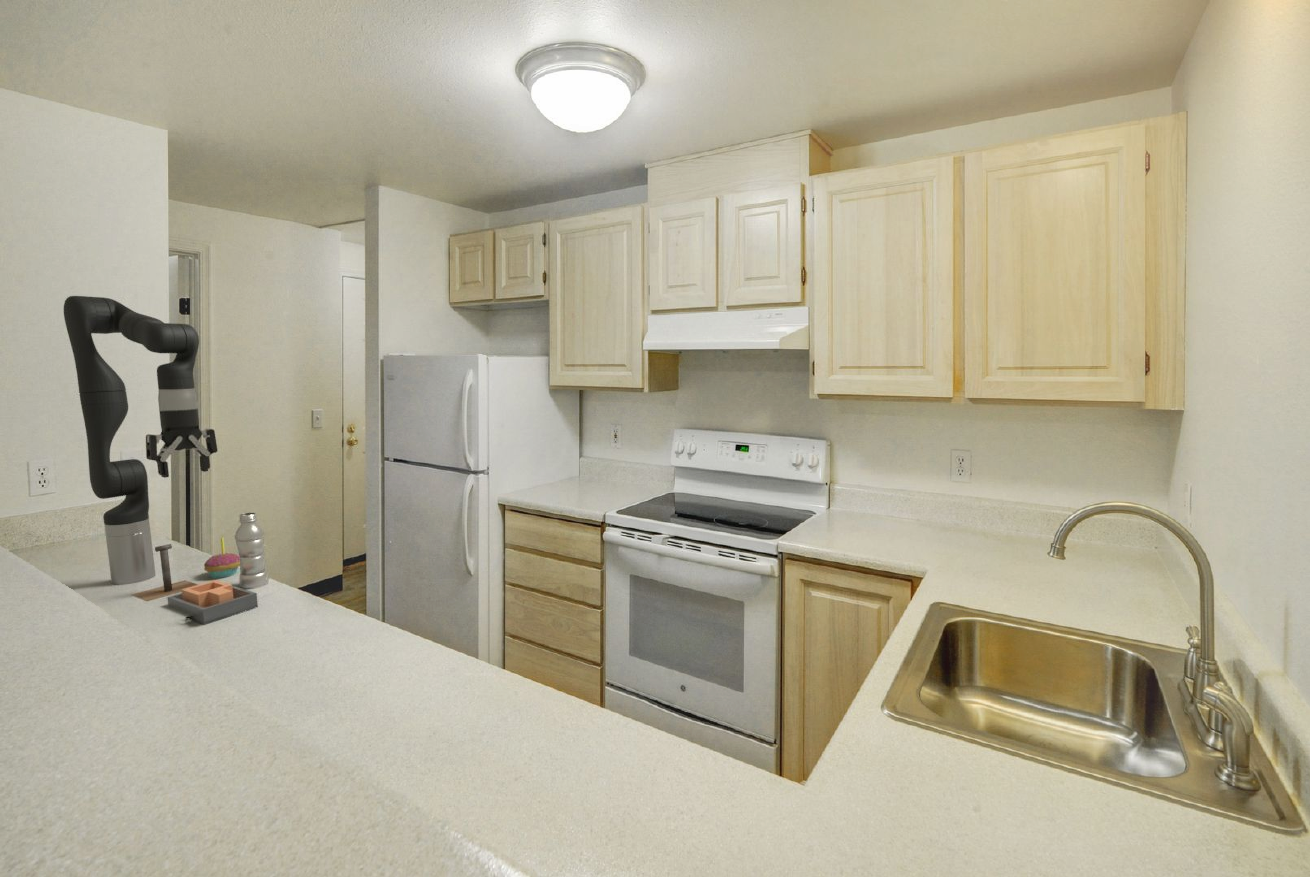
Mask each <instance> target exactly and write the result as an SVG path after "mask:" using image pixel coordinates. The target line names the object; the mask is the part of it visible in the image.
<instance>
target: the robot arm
mask: <svg viewBox="0 0 1310 877" xmlns="http://www.w3.org/2000/svg"><path fill="white" fill-rule="evenodd" d="M63 318H64V322H65V327H66V330H67V334H68V338H69V343H70V345H71V349H72V354H73V359H74V365H75V370H76V377H77V385H78V386H77V387H78V393H79V398H80V399H79V400H80V406H81V411H82V417H83V423H84V427H85V434H86V439H87V440H86V443H87V453H88V454H87V456H88V472H89V482H90V486H91V489H92V491H93V493H94V495H95V496H96V497H97V498H98V499H101V500H102V499H111V498H118V497H124V500H122V501H121V502H120V503H119V504H117V505H116V506H115V507H112V508H111V509H109V510H107V511H106V512H104V513H103V517H102V518H103V525H104V526H103V527H104V533H105V539H106V549H107V556H108V562H109V563H108V564H109V565H108V566H109V572H110V574H109V575H110V581H111V584H112V585H115V586H116V585H118V586H123V585H133V584H137V583H143V582H145V581H148V580H151V579H153V578H155V577H156V569H155V568H156V567H155V559H154V558H155V557H154V551H153V542H152V534H151V524H150V515H149V511H150V499H149V480H148V474H147V473H148V472H147V469H146V466H145V465H144V463H143V462H142V461H141V460H139V459H136V458H135V459H134V458H132V459H131V458H130V459H122V460H121V459H120V460H113V461H111V446H112V443H113V440H114V438H115V435H116V434H117V432H118V431H119V429H120V427H121V426H122V424H123V422H124V421H125V419H126V417H127V415H128V411H129V402H128V396H127V389H126V385H125V382H124V381H123V380H122V378H121V376H120V375H118V373H117V372H116V371H115V369H113V368H112V367H111V366H110V364H108V363H107V362H106V361H105V360H104V358H103V357H102V356H101V354H100V353H99V351H98V349H97V347H96V345H95V342H94V339H93V335H92V334H100V335H101V334H102V335H105V334H106V335H107V334H121V335H122V336H123V337H124V338H125V339H127V340H129V341H131V342H133V343H137V344H140V345H142V346H143V347H144V348H146V350H147V351H149V352H152V353H154V354H155V353H156V354H176V355H175V358H174V360H173V361H172V362H168V363H163V364H160V365H158V366H157V368H156V376H157V377H156V378H157V379H156V380H157V388H158V396H157V398H158V399H157V400H158V401H157V402H158V410H159V420H160V429H161V432H160V434H150V433H148V434H146V435H145V455H146V457H145V458H146V459H147V460H150V461H155V462H156V464H157V473H158V475H159V476H161V478H164V479H165V478H169V477H170V476H169V475H170V472H169V465H168V464H169V463H168V461H167V460H168V458H169V457H170V456H171V454H173V452H174V451H182V450H185V449H186V450H191V449H193V450H194V451H196V452H197V453H198V454H199V455H200V456H199V457H198V458H199V466H200V471H201V472H202V473H203V472H205V473H206V472H208V471H209V469H210V468H211V462H210V460H211V459H210V456H211V455H212V454H214V453H215V454H216V453H217V452H219V451H218V445H217V439H216V433H215V430H214V429H213V428H205V429H202V430H201V428H200V419H199V403H198V397H197V393H196V389H195V378H194V369H195V364H196V360H197V359H196V358H197V355H198V349H199V346H200V337H199V334H198V332H197V330H196V329H195V328H194V327H193V326H192V325H189V324H187V323H171V322H170V323H169V322H168V323H165V322H164V321H162V320H160V319H159V318H155V317H152V316H150V315H146V314H142V313H139V312H137V311H134V310H132V309H131V308H129V307H127V306H126V305H124V304H122V303H121V302H119V301H117V300H115V299H113V298H108V297H102V296H100V297H99V296H88V295H87V296H84V295H70V296H67V298H66V299H65V300H64V304H63ZM201 437H202V438H204V439H205V444H206V447H205V445H203V444H202V443H201V442H200V441H199V440H200V439H201ZM160 440H161V441H162V442H163V445H162V447H161V448H160V450H159V453H158V446H157V445H158V444H159V443H160Z"/></svg>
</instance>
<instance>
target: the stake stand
mask: <svg viewBox="0 0 1310 877" xmlns="http://www.w3.org/2000/svg"><path fill="white" fill-rule="evenodd" d="M172 548H173V546H172V543H169V544H163V545H159V546H155V547H154V550H155V552H157V553H158V552H159V556H160V565H161V572H162V582H163V585H161V586H159V587H156V588H150V589H147V590H144V591H141V592H136V593H133V594H131V596H132V597H135V598H138V599H140V600H143V601H146V602H149V601H154V600H157V599H160V598H164V597H169V596H173V595H176V594H180V593H182V589H185V588H189V587H192V586H196V585H199V584H198V583H195V582H192V581H190V580H189V581H188V580H186V579H184V580H181V581H177V582H173V583H172V575H171V566H170V557H169V550H171V549H172Z"/></svg>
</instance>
